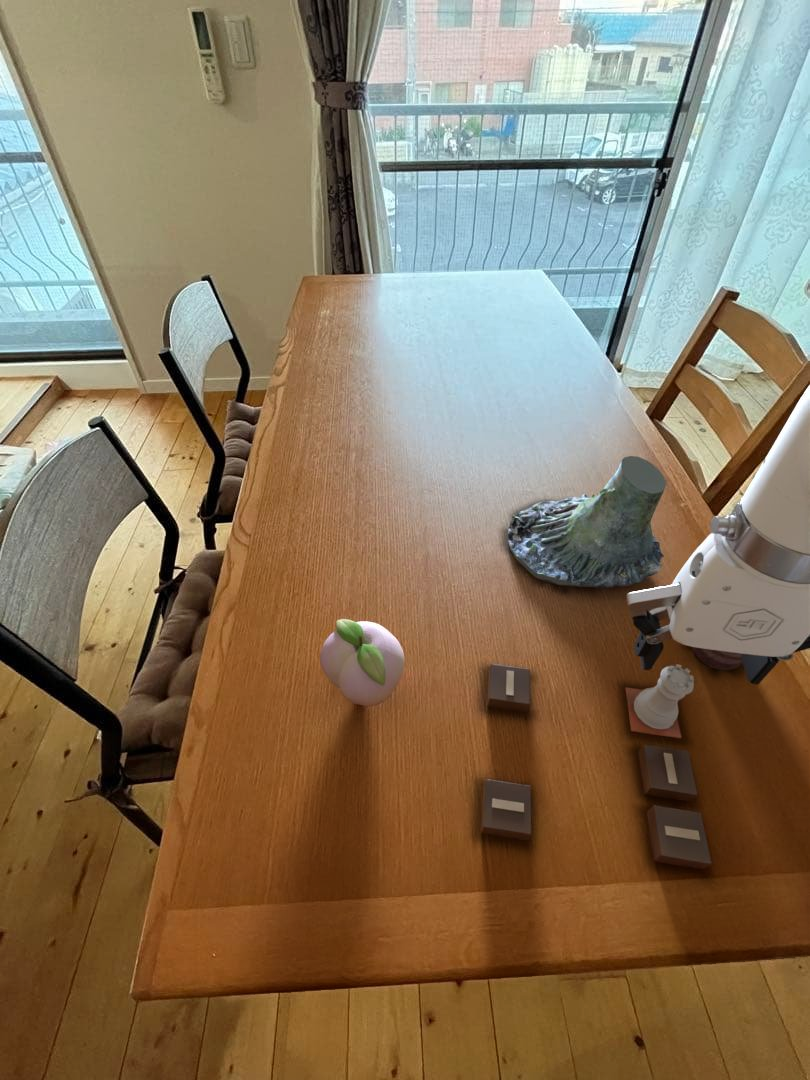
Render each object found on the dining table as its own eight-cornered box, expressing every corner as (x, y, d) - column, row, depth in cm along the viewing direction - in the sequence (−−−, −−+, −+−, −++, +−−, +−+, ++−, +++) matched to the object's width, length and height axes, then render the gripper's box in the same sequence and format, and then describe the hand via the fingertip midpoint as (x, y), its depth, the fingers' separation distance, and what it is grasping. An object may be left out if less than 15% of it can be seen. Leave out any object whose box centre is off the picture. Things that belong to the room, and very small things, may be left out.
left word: (527, 841, 52) (531, 834, 51) (480, 833, 53) (483, 826, 51) (526, 677, 64) (530, 668, 63) (488, 672, 64) (491, 662, 63)
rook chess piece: (656, 688, 63) (683, 650, 57) (683, 723, 60) (714, 687, 55) (624, 701, 62) (648, 663, 56) (649, 737, 59) (677, 701, 53)
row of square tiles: (707, 870, 51) (717, 864, 49) (649, 860, 51) (657, 854, 50) (671, 694, 63) (679, 685, 61) (625, 688, 63) (631, 678, 62)
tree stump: (528, 487, 88) (585, 396, 74) (642, 552, 85) (722, 469, 72) (486, 559, 76) (545, 465, 62) (617, 637, 73) (707, 557, 60)
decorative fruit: (420, 689, 63) (424, 640, 56) (365, 737, 59) (361, 691, 52) (366, 637, 67) (363, 586, 60) (312, 679, 64) (302, 629, 56)
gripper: (673, 560, 39) (607, 686, 51) (938, 590, 37) (805, 712, 49) (654, 492, 44) (599, 621, 56) (886, 515, 43) (777, 643, 55)
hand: (695, 663), depth 53 cm, fingers open, 9 cm apart
